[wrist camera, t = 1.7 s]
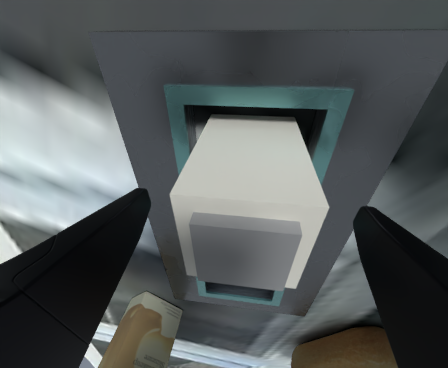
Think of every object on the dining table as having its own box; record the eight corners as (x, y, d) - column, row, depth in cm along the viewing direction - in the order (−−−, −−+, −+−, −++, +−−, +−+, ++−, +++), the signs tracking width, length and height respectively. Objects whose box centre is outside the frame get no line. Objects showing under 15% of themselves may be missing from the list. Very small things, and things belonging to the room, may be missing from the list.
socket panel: (435, 29, 8) (469, 30, 7) (302, 301, 23) (305, 318, 22) (108, 31, 10) (85, 32, 8) (178, 285, 24) (174, 300, 23)
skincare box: (184, 309, 28) (146, 454, 19) (167, 315, 31) (125, 448, 21) (144, 288, 26) (78, 441, 17) (129, 297, 29) (63, 436, 19)
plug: (294, 117, 11) (334, 221, 5) (281, 183, 14) (297, 301, 8) (211, 113, 12) (163, 205, 6) (214, 179, 14) (183, 286, 8)
